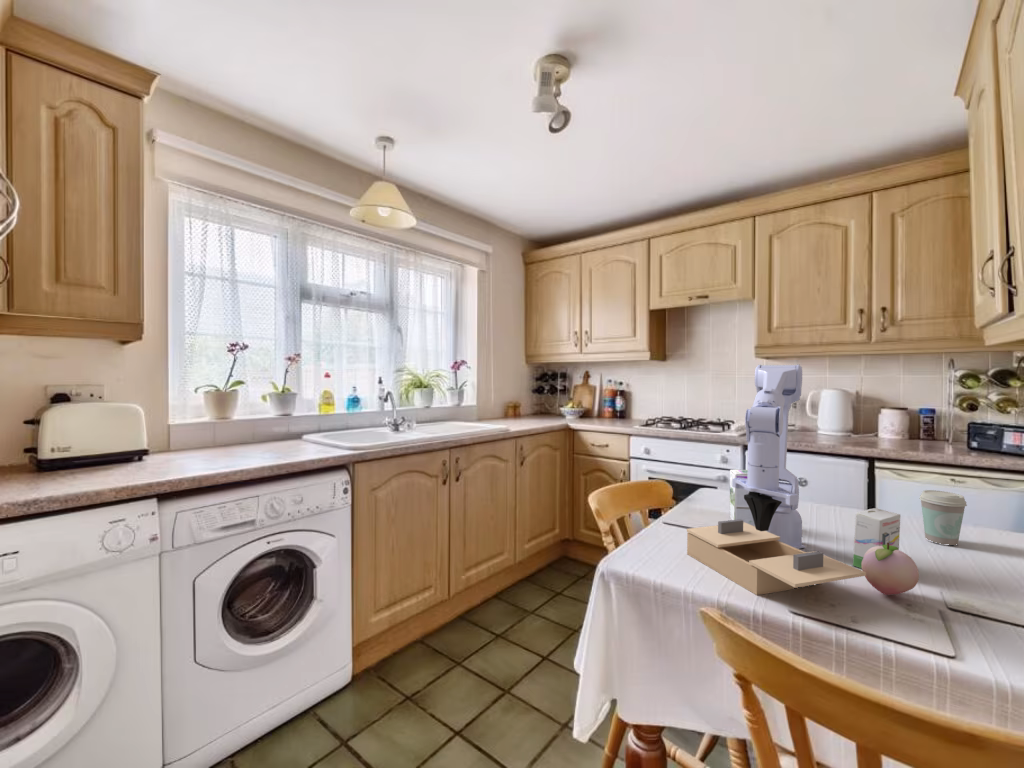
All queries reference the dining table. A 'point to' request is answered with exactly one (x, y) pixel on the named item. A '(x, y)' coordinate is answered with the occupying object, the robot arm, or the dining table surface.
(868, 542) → the ink box
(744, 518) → the white printed box
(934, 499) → the coffee cup
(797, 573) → the lid panel
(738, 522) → the lid panel
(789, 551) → the carton
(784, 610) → the dining table surface
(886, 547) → the decorative fruit
